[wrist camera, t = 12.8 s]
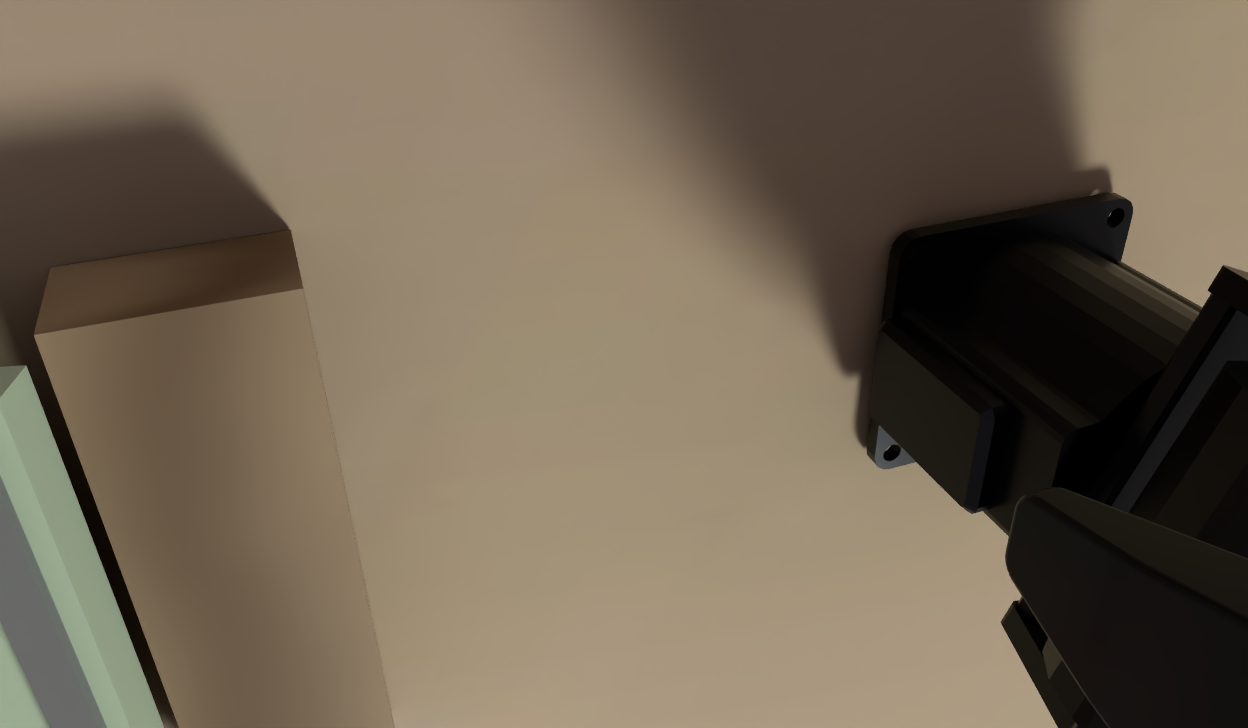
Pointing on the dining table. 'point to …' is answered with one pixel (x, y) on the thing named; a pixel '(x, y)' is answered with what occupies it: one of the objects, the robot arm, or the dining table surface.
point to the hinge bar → (219, 479)
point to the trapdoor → (56, 590)
